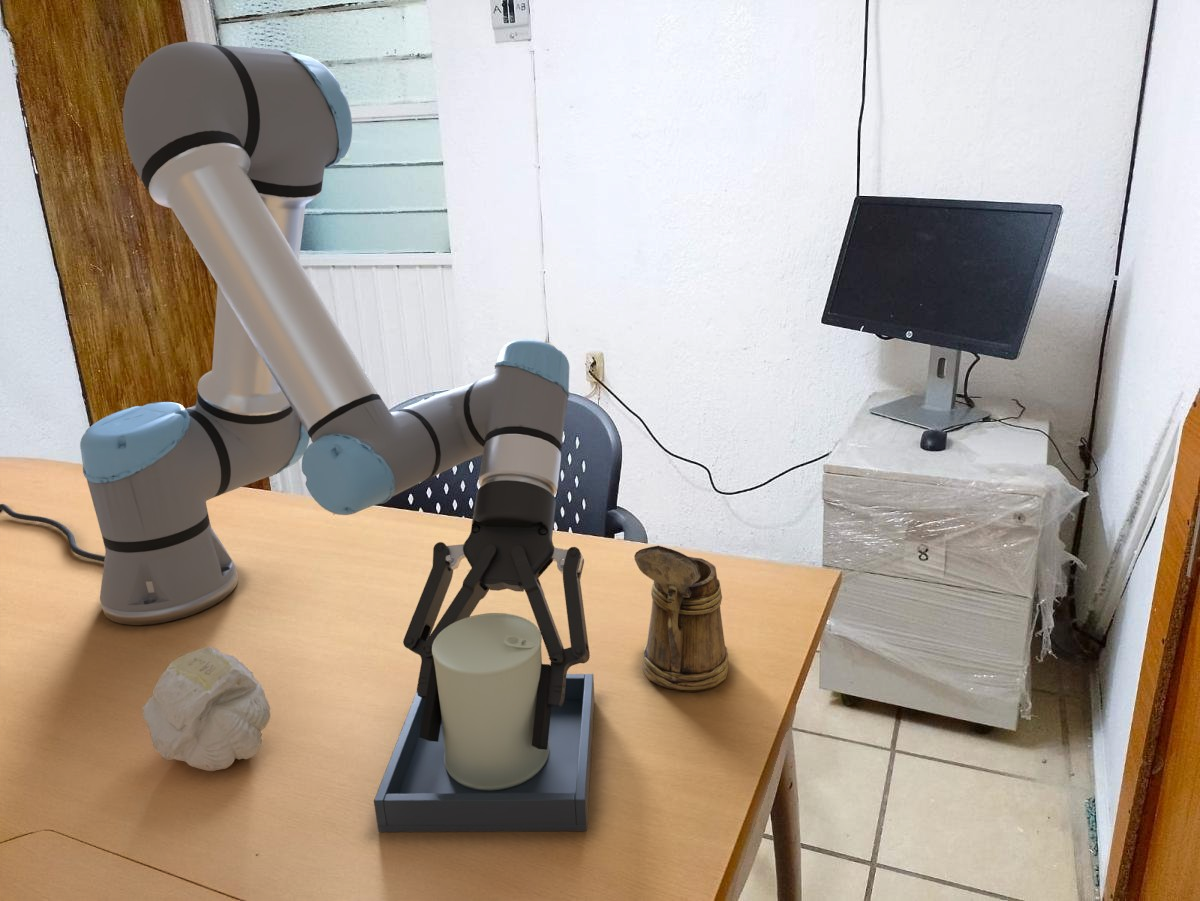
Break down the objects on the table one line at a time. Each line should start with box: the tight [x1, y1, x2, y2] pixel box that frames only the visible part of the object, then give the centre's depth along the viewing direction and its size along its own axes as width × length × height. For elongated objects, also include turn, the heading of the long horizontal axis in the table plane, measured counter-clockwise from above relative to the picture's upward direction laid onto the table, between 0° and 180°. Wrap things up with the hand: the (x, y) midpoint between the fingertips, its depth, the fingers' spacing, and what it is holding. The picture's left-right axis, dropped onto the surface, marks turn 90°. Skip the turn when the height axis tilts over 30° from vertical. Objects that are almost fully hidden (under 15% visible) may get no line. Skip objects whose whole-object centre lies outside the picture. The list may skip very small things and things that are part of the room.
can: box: [432, 612, 550, 791], centre depth 71 cm, size 9×9×12 cm
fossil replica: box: [141, 646, 271, 772], centre depth 75 cm, size 12×8×10 cm
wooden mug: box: [633, 545, 729, 693], centre depth 80 cm, size 9×14×18 cm, turn 159°
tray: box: [373, 673, 596, 833], centre depth 73 cm, size 17×17×3 cm
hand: (483, 743), depth 69 cm, fingers closed on can, 9 cm apart
